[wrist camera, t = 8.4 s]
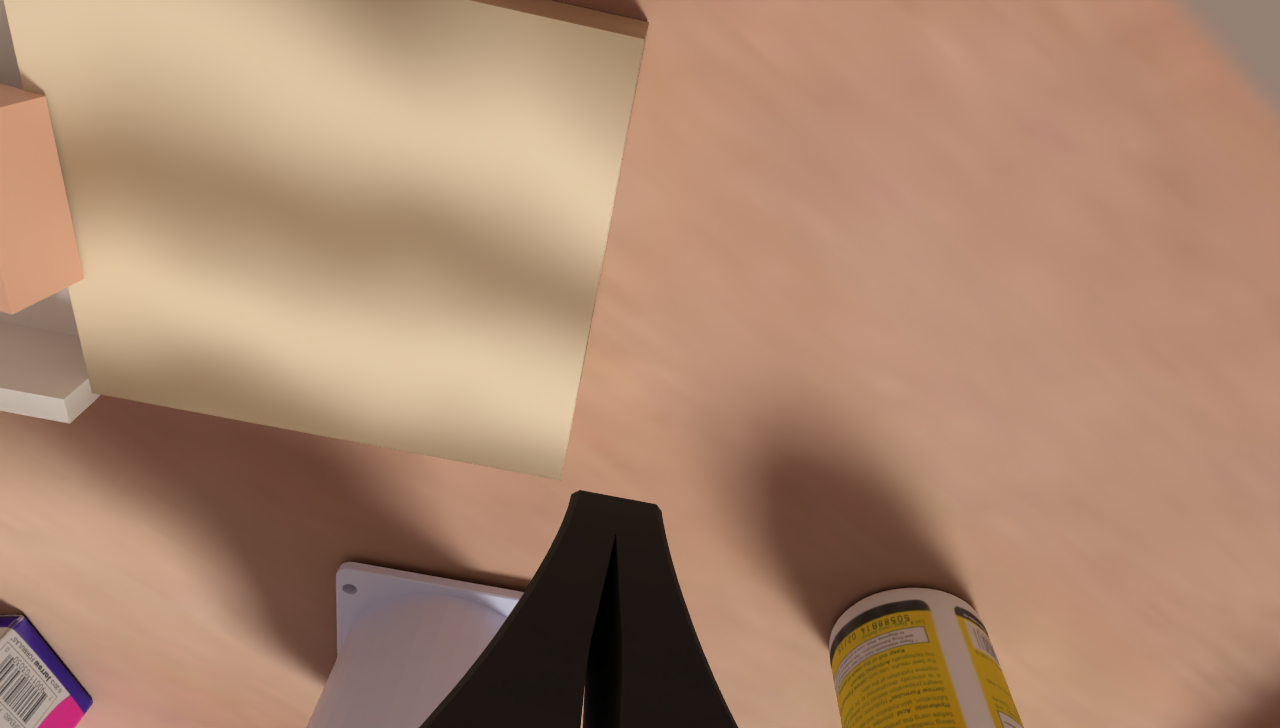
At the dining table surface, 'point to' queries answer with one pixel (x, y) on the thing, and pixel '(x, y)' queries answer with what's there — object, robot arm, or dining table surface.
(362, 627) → the robot arm
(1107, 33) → the dining table surface
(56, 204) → the tile
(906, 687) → the supplement bottle
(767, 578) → the dining table surface
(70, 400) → the tray
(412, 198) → the plate
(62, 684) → the supplement box
